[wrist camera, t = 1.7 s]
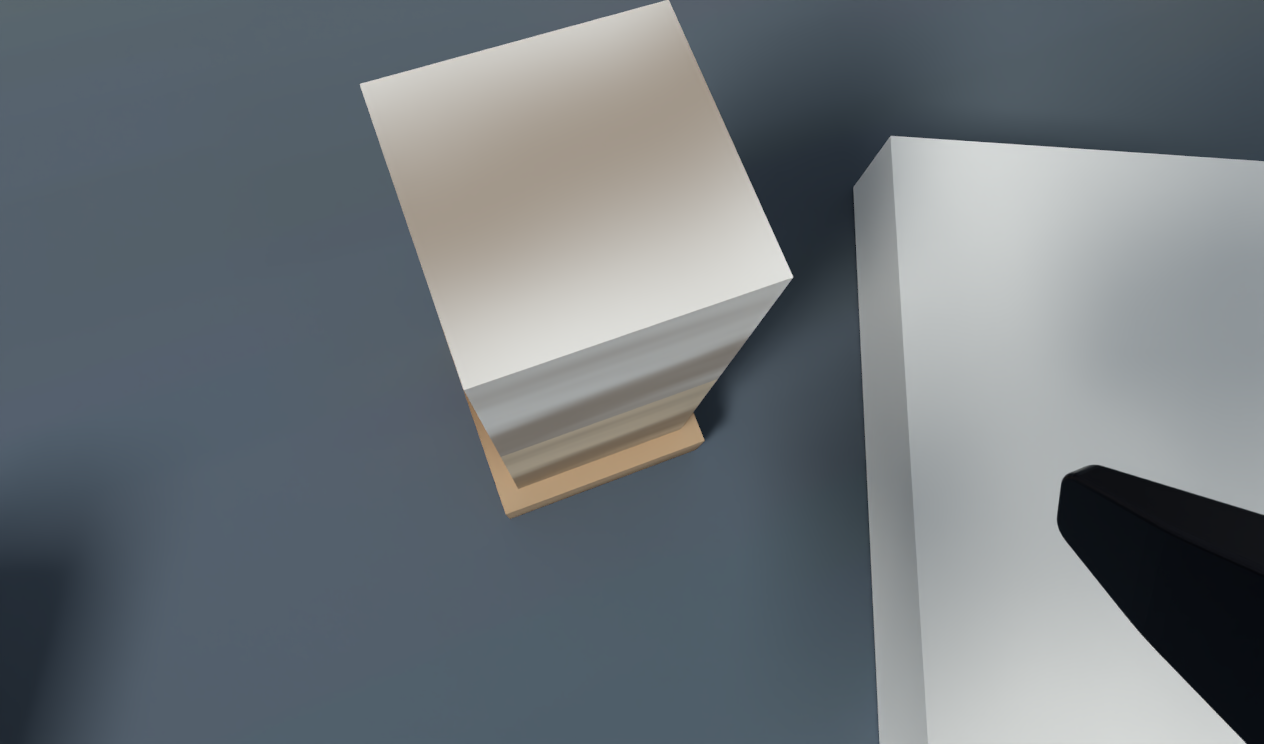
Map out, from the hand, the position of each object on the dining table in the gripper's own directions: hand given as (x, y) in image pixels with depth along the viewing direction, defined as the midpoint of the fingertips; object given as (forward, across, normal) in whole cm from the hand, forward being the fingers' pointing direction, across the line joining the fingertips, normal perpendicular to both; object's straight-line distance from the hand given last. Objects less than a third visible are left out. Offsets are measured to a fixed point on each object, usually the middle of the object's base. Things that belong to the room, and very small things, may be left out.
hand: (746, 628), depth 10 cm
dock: (+8, -12, +9) cm, 17 cm away
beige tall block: (+13, 0, +4) cm, 14 cm away
